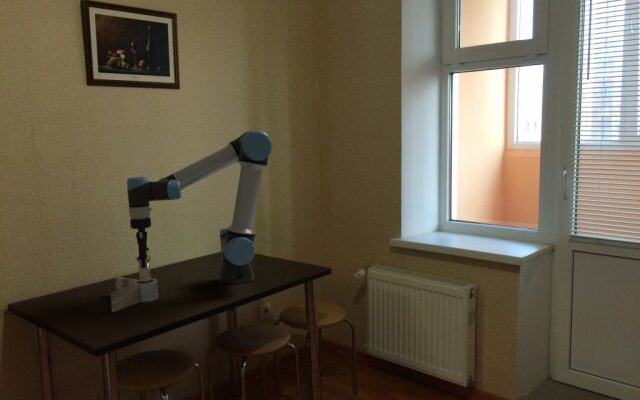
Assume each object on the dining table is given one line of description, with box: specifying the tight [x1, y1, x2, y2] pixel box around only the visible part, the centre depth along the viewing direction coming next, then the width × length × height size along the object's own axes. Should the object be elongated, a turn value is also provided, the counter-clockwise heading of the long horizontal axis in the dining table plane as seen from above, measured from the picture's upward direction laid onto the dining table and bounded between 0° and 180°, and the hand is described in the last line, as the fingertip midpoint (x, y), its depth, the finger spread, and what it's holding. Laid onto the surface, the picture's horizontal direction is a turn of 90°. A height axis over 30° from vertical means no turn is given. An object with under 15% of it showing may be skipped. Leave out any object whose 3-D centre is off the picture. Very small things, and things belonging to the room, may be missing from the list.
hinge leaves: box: [110, 276, 141, 313], centre depth 200 cm, size 17×17×7 cm
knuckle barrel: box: [134, 277, 159, 303], centre depth 203 cm, size 8×8×7 cm
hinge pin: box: [135, 255, 152, 284], centre depth 203 cm, size 5×5×17 cm
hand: (144, 271), depth 202 cm, fingers open, 13 cm apart
